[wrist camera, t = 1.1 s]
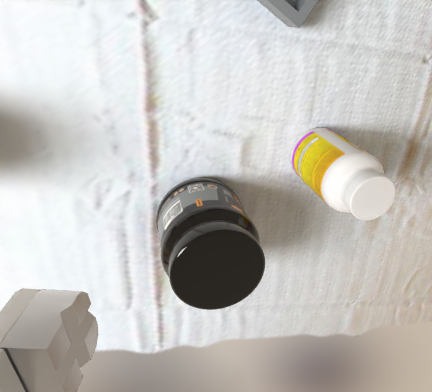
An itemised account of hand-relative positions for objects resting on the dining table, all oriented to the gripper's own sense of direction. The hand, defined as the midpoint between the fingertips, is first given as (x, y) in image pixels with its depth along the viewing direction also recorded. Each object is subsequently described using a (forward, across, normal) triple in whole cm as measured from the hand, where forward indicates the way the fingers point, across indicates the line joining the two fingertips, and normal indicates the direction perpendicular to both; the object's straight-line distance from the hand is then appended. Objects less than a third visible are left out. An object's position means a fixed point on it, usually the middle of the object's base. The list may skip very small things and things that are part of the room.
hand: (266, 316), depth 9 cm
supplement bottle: (+38, -6, +13) cm, 41 cm away
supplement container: (+34, +8, +19) cm, 39 cm away
